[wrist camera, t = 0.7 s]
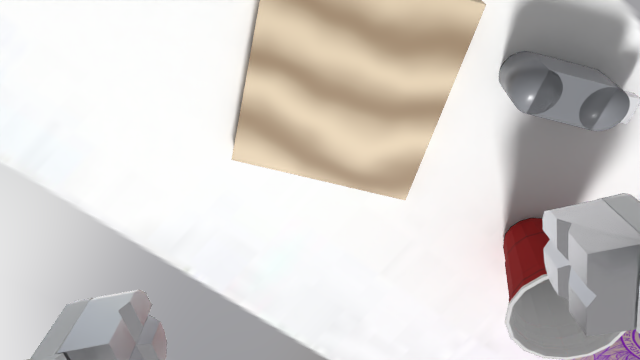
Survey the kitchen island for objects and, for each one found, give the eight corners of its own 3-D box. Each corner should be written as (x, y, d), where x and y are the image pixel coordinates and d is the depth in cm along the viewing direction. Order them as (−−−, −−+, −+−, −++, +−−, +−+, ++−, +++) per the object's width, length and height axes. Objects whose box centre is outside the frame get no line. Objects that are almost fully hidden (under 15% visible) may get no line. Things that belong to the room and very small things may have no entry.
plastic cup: (528, 179, 51) (573, 256, 41) (602, 227, 54) (661, 311, 44) (457, 247, 56) (481, 331, 46) (528, 288, 59) (566, 375, 49)
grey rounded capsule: (510, 46, 44) (526, 63, 40) (631, 78, 45) (657, 98, 42) (491, 87, 46) (504, 108, 43) (607, 117, 47) (630, 140, 44)
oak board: (271, -58, 41) (269, -55, 39) (481, 0, 42) (486, 4, 41) (234, 152, 51) (231, 159, 50) (403, 192, 53) (405, 200, 51)
